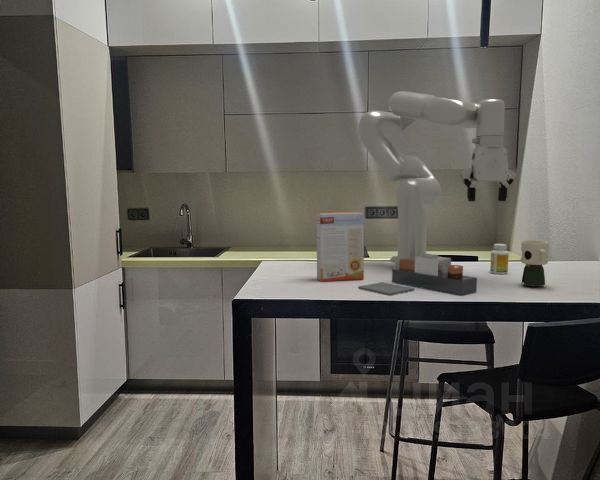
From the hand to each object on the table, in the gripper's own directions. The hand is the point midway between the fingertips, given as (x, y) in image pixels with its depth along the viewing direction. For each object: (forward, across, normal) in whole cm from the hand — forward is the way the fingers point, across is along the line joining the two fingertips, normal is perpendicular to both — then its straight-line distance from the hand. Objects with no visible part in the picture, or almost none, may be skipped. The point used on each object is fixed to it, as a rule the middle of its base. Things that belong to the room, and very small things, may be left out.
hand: (486, 201), depth 149 cm
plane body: (+24, -19, -6) cm, 31 cm away
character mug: (+24, +10, -9) cm, 28 cm away
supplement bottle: (+25, +12, +13) cm, 30 cm away
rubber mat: (+24, -33, -7) cm, 42 cm away
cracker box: (+25, -42, +10) cm, 50 cm away
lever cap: (+20, -19, -6) cm, 28 cm away
